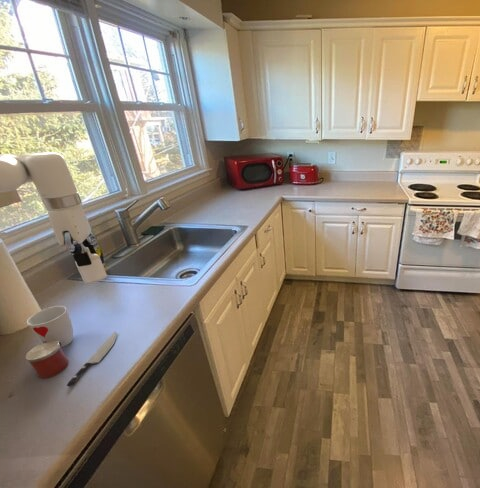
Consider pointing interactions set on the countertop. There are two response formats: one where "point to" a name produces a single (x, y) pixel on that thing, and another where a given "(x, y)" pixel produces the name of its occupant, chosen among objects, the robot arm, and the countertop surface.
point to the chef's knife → (95, 357)
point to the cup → (52, 325)
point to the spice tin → (47, 359)
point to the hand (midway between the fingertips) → (87, 260)
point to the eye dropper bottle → (92, 269)
